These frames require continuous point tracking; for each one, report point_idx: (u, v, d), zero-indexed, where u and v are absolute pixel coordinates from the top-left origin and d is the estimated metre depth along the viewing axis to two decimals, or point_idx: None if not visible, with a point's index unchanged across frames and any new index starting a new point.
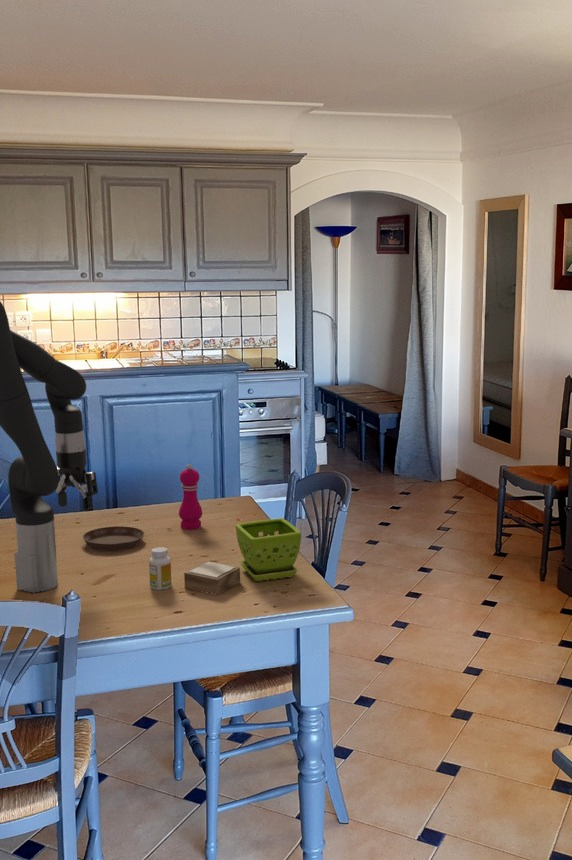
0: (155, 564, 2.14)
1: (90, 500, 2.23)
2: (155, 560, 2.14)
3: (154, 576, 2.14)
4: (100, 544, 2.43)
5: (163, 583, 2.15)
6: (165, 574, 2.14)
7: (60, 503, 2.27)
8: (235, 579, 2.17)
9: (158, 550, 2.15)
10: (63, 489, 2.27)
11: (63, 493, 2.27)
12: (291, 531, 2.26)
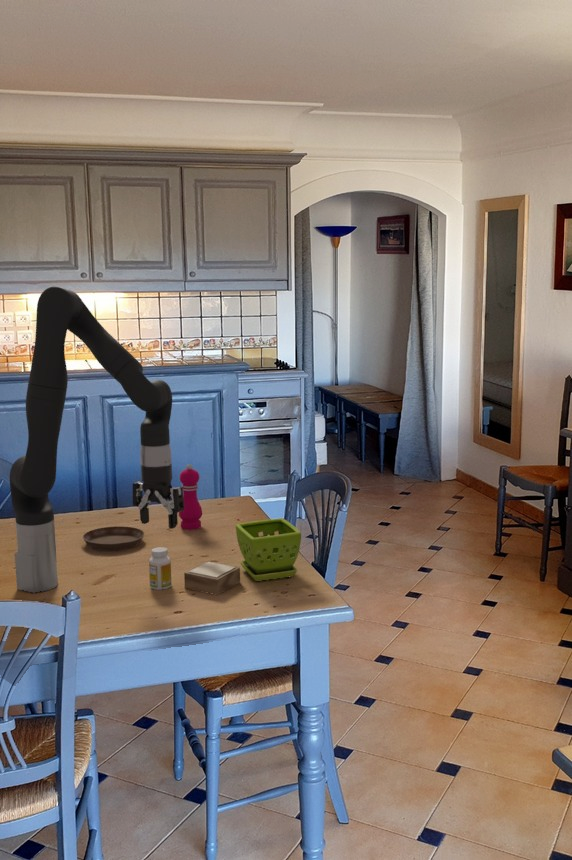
0: (155, 564, 2.14)
1: (176, 517, 2.12)
2: (155, 560, 2.14)
3: (154, 576, 2.14)
4: (100, 544, 2.43)
5: (163, 583, 2.15)
6: (165, 574, 2.14)
7: (142, 519, 2.16)
8: (235, 579, 2.17)
9: (158, 550, 2.15)
10: (146, 505, 2.16)
11: (146, 509, 2.16)
12: (291, 531, 2.26)
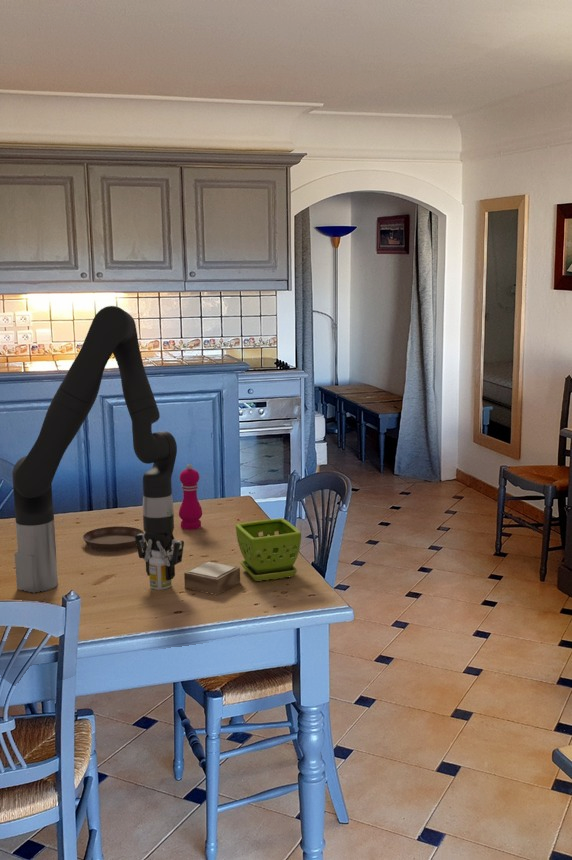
0: (155, 564, 2.14)
1: (173, 569, 2.15)
2: (155, 560, 2.14)
3: (154, 576, 2.14)
4: (100, 544, 2.43)
5: (163, 583, 2.15)
6: (165, 574, 2.14)
7: (148, 572, 2.17)
8: (235, 579, 2.17)
9: None
10: None
11: None
12: (291, 531, 2.26)
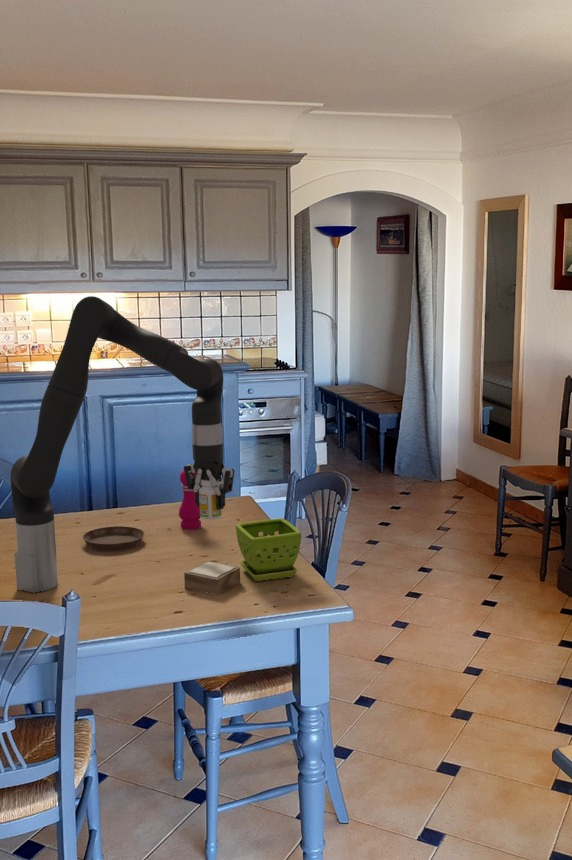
0: (206, 493, 2.11)
1: (223, 498, 2.12)
2: (205, 490, 2.12)
3: (205, 506, 2.12)
4: (100, 544, 2.43)
5: (214, 512, 2.12)
6: (216, 503, 2.12)
7: (198, 502, 2.15)
8: (235, 579, 2.17)
9: None
10: None
11: None
12: (291, 531, 2.26)
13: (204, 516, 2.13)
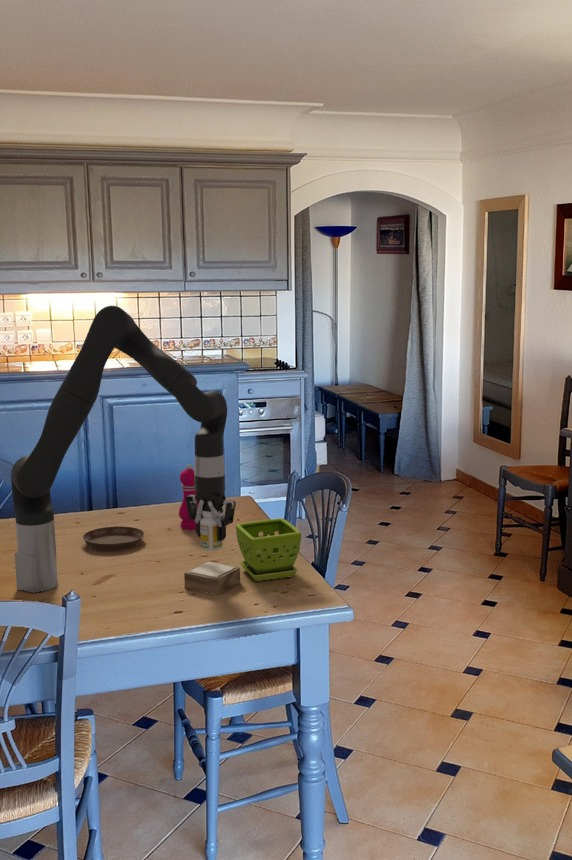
0: (207, 524, 2.12)
1: (224, 529, 2.13)
2: (207, 521, 2.13)
3: (206, 537, 2.13)
4: (100, 544, 2.43)
5: (215, 543, 2.13)
6: (216, 534, 2.13)
7: (199, 533, 2.16)
8: (235, 579, 2.17)
9: None
10: None
11: None
12: (291, 531, 2.26)
13: (205, 547, 2.14)
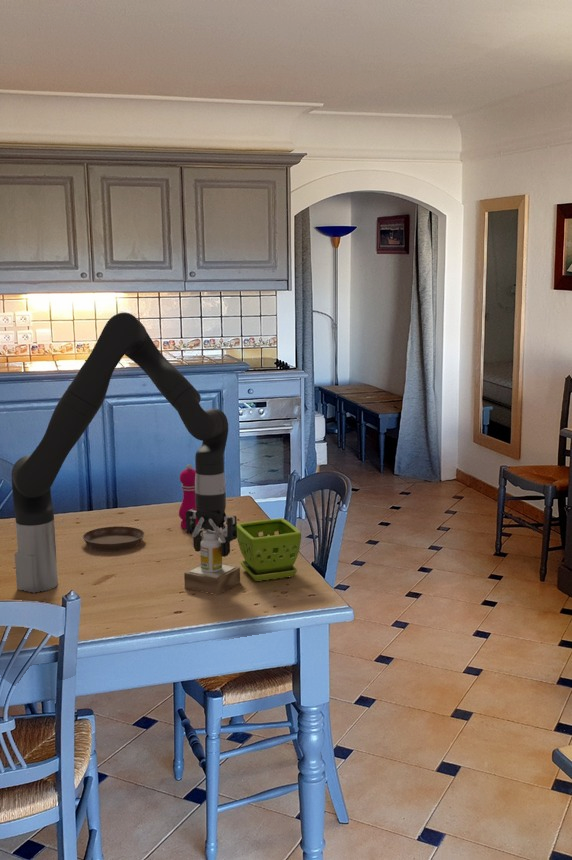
0: (207, 546, 2.13)
1: (228, 545, 2.13)
2: (207, 543, 2.13)
3: (205, 559, 2.14)
4: (100, 544, 2.43)
5: (214, 565, 2.14)
6: (216, 556, 2.14)
7: (196, 547, 2.17)
8: (235, 579, 2.17)
9: (210, 532, 2.14)
10: (199, 533, 2.18)
11: (199, 537, 2.18)
12: (291, 531, 2.26)
13: (204, 569, 2.15)
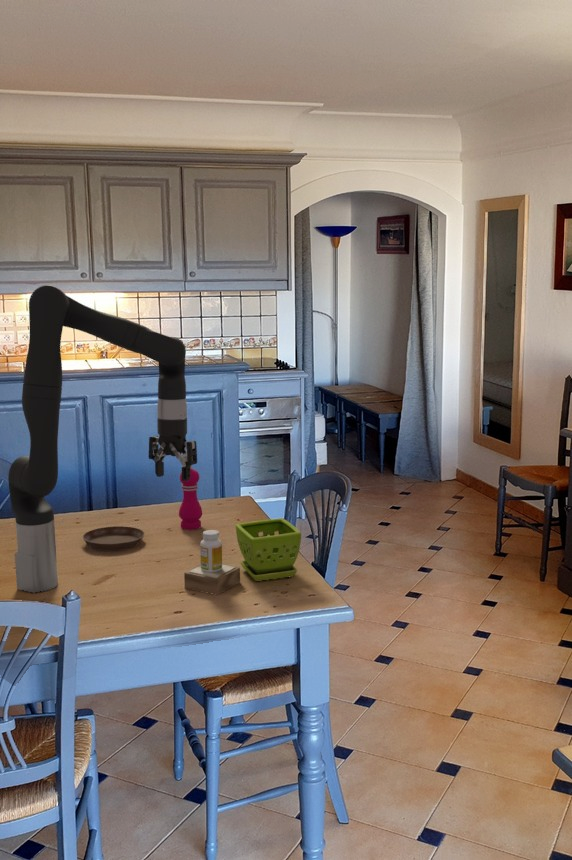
0: (206, 546, 2.13)
1: (189, 470, 2.19)
2: (207, 543, 2.13)
3: (205, 559, 2.14)
4: (100, 544, 2.43)
5: (214, 565, 2.14)
6: (216, 556, 2.14)
7: (157, 472, 2.23)
8: (235, 579, 2.17)
9: (210, 533, 2.14)
10: (161, 459, 2.24)
11: (161, 462, 2.23)
12: (291, 531, 2.26)
13: (204, 569, 2.15)
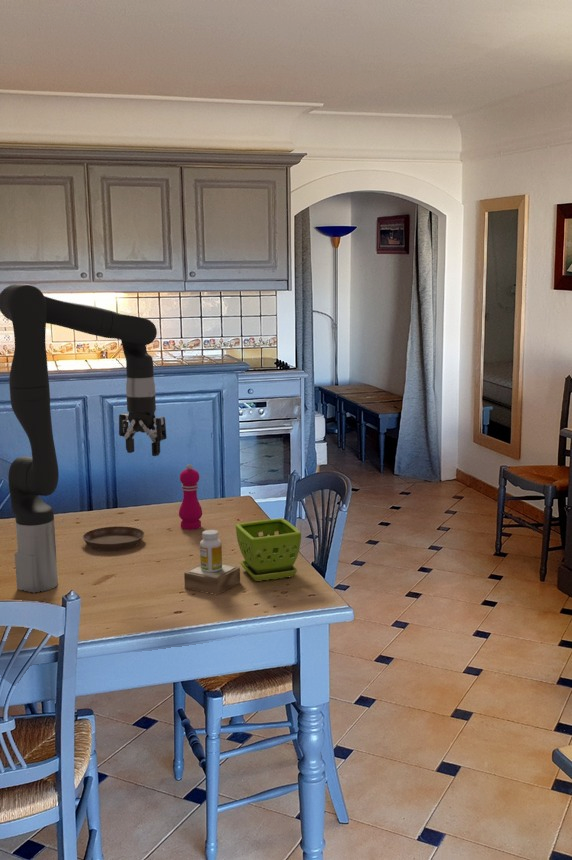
0: (206, 546, 2.13)
1: (158, 445, 2.27)
2: (206, 543, 2.14)
3: (205, 558, 2.14)
4: (100, 544, 2.43)
5: (214, 565, 2.14)
6: (216, 556, 2.14)
7: (128, 449, 2.31)
8: (235, 579, 2.17)
9: (209, 532, 2.15)
10: (131, 435, 2.32)
11: (131, 439, 2.32)
12: (291, 531, 2.26)
13: (204, 569, 2.15)
